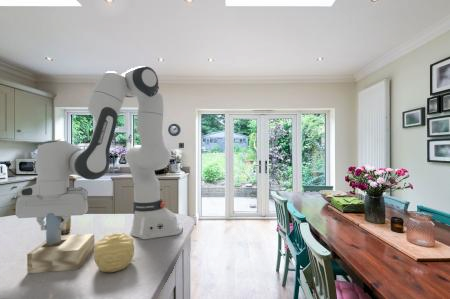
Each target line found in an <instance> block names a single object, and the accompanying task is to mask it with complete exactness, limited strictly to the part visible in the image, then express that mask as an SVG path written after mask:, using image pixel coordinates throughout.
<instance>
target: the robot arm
mask: <svg viewBox="0 0 450 299" xmlns="http://www.w3.org/2000/svg"><path fill="white" fill-rule="evenodd" d="M96 82H97V83H96V84H95V86H94V88H93V90H92V93H91V95H90V97H89V102H88V112H89V113H90V115H91V116H92V117H93V118H94V120H95V124H94V128H93V132H92V134H91V138H90V141H89V144H88V146H87V147H86V148H82V147H79V146H77V145H74V144H72V143H70V142H68V141H67V140H66V139H52V140H47V141H45V140H44V141H43V142H41V143H39V144H38V147H37V151H36V161H35V166H36V170H37V177H36V180H35V182H36V183H34V184H31V185H29V186H27V187H26V186H25V187H23V188H20V189H19V190H18V191H17V195H18V196H19V197H18V198H17V200H16V202H15V216H16V217H17V218H18V219H30V218H31V219H32V218H33V219H35V218H36V222H37V223H38V225H39V226H40V231H46V220H44V219H46V217H47V214H48V213H54V216H63V219H64V221H63V223H61V224H59V229H65V228H66V223H67V221H68V220H69V218H70V216H71V217H73V216H74V217H75V216H83V215H85V214H86V213H88V210H89V202H88V195H89V194H88V190H87V189H86V188H84V187H82V186H81V187H80V186H79V187H70V176H72V175H75V176H78V177H81V178H83V179H85V180H89V181H90V180H92V181H93V180H99V179H100V178H102V177H103V176H105V175H106V173H107V172H108V170H109V168H110V162H111V161H110V151H111V150H110V149H111V146H112V142H113V138H114V134H115V131H116V128H117V124H118V118H119V114H120V112H121V109H122V107H123V103H124V102H125V101H124V100H125V98H136V99H137V101H138V108H137V109H138V110H137V120H136V129H135V130H136V132H137V135H138V136H139V140H140V144H137V145H134V146H132V147H129V149H127V151H126V152H125V161H126V163H127V165H128V167H129V170H130V173H131V176H132V182H133V202H132V214H133V219H132V226H131V229H130V232H129V234H130V236H131V237H136V238H139V239H141V240H150V239H156V238H164V237H169V236H171V237H172V236H177V235H180V234H181V233H182V232H183V225H182V223H180V222H178V219H177V216H176V213H174V212H173V211H171V210H169V209H168V208H167V207H165V206H166V202H165V200H164V199H161V183H160V180H159V179H158V178H157V177H158V176H156V171H159V170H163V169H165V168H166V167H167V166H168V165H169V163H170V160H171V155H170V152H169V150H168V149H167V148H166V146H165V142H164V137H163V123H164V122H163V121H164V99H163V96H162V94H161V93H160V92H159V89H160V88H159V78H158V75H157V72H156V71H155V70H154V69H153V68H152V67H150V66H145V65H142V66H141V65H140V66H137V67H134V68H131V69H129V70H127V71H126V72H123V73H121V74H120V73H119V72H118V73H117V72H116V71H106V72H104V73H103V74H102V75H101V77H100V78H99V80H98V81H96Z"/></svg>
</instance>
